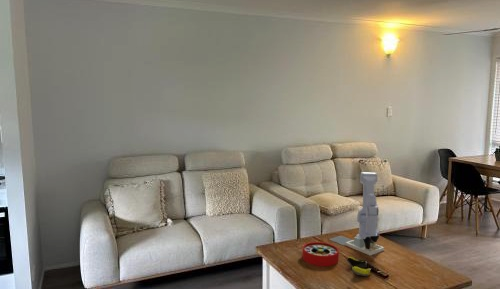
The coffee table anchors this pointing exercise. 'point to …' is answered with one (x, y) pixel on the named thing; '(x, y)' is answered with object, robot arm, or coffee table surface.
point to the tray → (362, 249)
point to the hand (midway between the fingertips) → (370, 247)
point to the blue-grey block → (359, 241)
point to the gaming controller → (359, 267)
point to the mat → (340, 240)
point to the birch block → (372, 246)
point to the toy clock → (320, 254)
